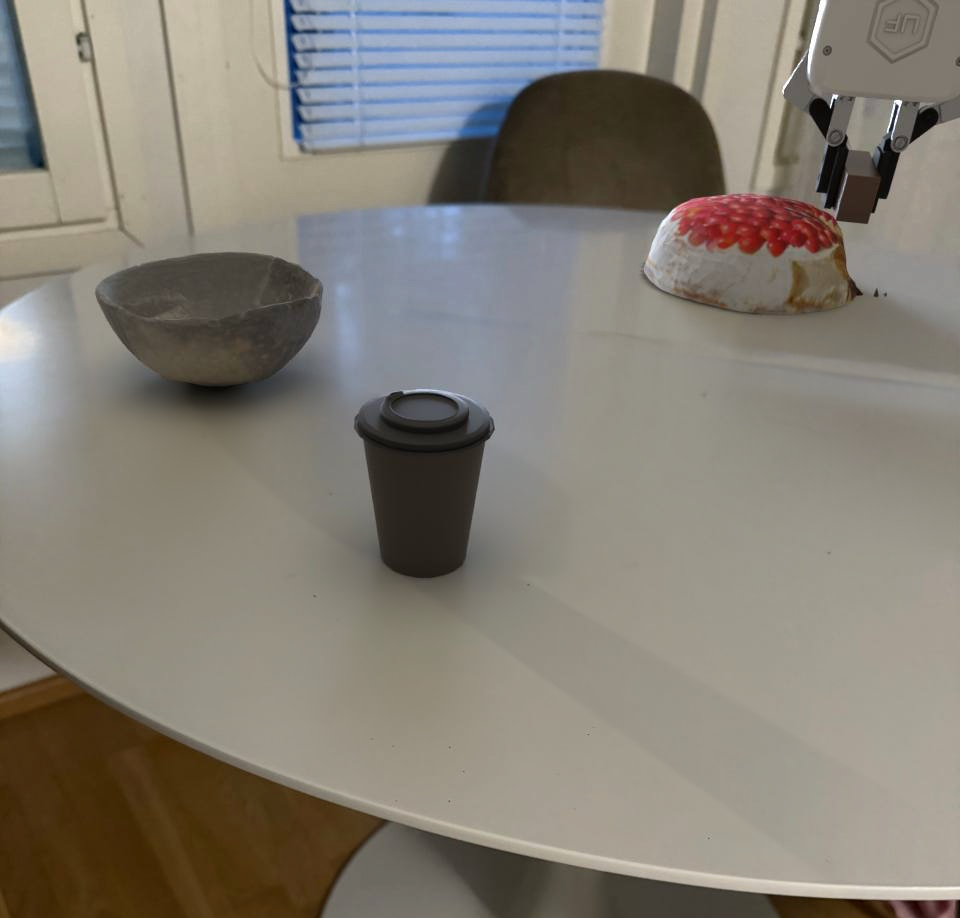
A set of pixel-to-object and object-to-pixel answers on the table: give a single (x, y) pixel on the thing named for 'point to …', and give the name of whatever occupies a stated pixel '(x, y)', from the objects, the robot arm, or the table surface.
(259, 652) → the table surface
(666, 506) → the table surface
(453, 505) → the coffee cup
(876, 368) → the table surface
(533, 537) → the table surface
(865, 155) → the knife
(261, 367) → the bowl
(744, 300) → the cake
